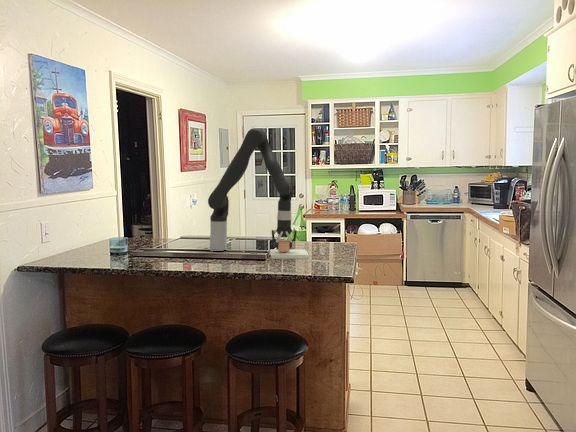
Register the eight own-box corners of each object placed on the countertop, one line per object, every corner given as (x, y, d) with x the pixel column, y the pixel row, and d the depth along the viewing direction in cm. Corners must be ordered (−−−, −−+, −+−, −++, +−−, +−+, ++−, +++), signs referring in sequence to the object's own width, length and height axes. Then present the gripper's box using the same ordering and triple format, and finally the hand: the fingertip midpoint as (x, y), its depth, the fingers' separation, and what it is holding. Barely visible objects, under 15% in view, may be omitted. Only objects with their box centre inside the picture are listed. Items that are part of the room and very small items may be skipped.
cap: (278, 251, 258) (278, 241, 257) (277, 249, 264) (277, 239, 263) (289, 251, 259) (290, 241, 258) (288, 249, 265) (289, 239, 264)
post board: (271, 258, 254) (271, 247, 253) (270, 252, 268) (270, 242, 267) (308, 258, 256) (309, 247, 255) (305, 253, 270) (305, 242, 269)
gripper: (271, 219, 255) (270, 250, 257) (298, 219, 256) (297, 250, 258) (270, 217, 262) (270, 247, 264) (296, 217, 263) (296, 247, 266)
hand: (283, 248), depth 261 cm, fingers closed on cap, 6 cm apart
